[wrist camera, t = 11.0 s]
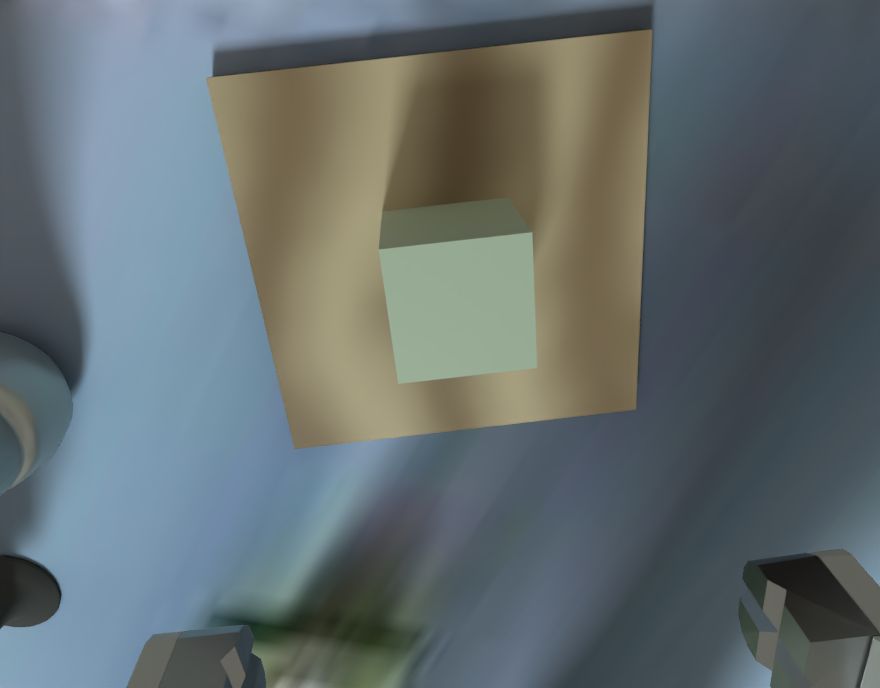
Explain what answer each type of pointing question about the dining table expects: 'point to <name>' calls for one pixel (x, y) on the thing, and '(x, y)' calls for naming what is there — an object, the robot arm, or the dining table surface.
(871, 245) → the dining table surface
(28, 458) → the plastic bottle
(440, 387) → the tan square board
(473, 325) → the sage block
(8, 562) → the sundae
